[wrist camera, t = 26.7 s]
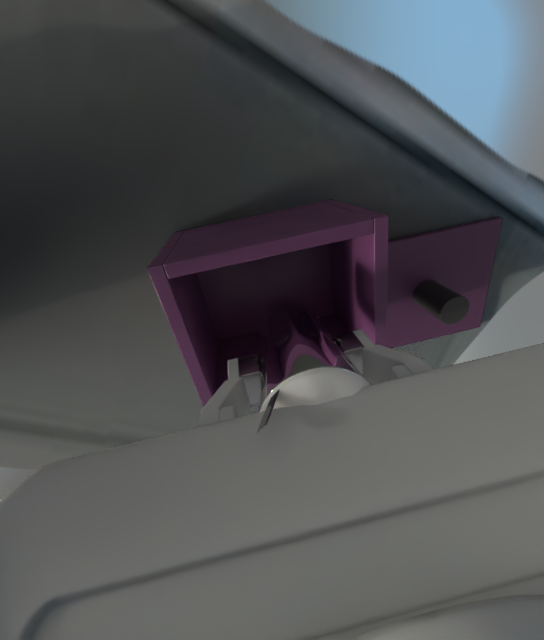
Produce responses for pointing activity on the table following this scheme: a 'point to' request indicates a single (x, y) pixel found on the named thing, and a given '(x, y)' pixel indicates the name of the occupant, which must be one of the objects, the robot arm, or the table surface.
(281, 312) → the milkshake
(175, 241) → the box
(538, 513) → the robot arm
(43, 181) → the table surface
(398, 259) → the lid
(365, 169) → the table surface
